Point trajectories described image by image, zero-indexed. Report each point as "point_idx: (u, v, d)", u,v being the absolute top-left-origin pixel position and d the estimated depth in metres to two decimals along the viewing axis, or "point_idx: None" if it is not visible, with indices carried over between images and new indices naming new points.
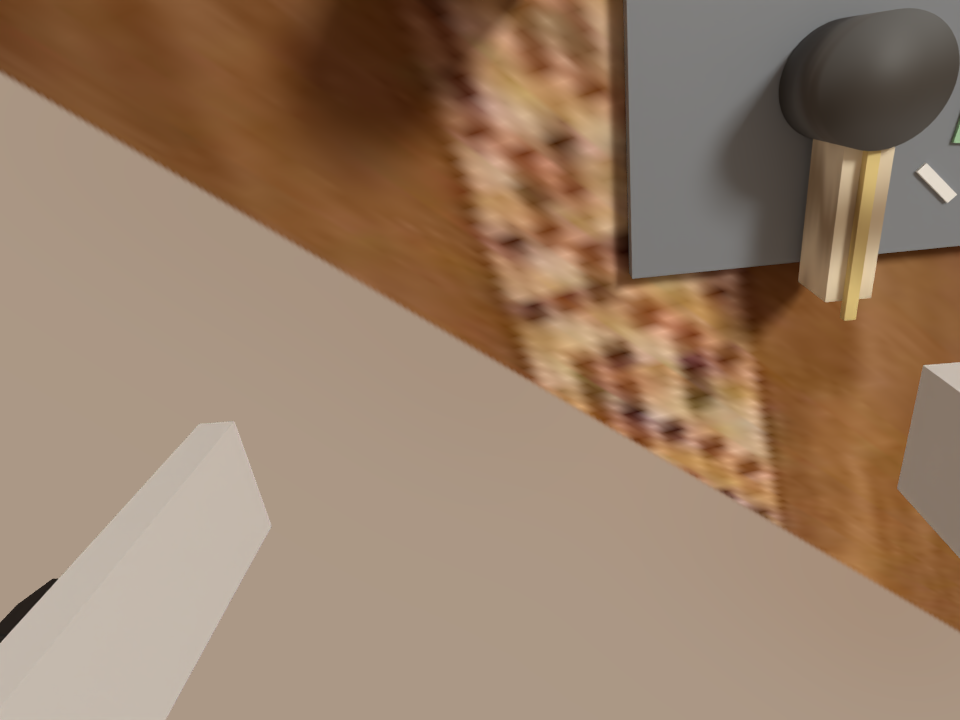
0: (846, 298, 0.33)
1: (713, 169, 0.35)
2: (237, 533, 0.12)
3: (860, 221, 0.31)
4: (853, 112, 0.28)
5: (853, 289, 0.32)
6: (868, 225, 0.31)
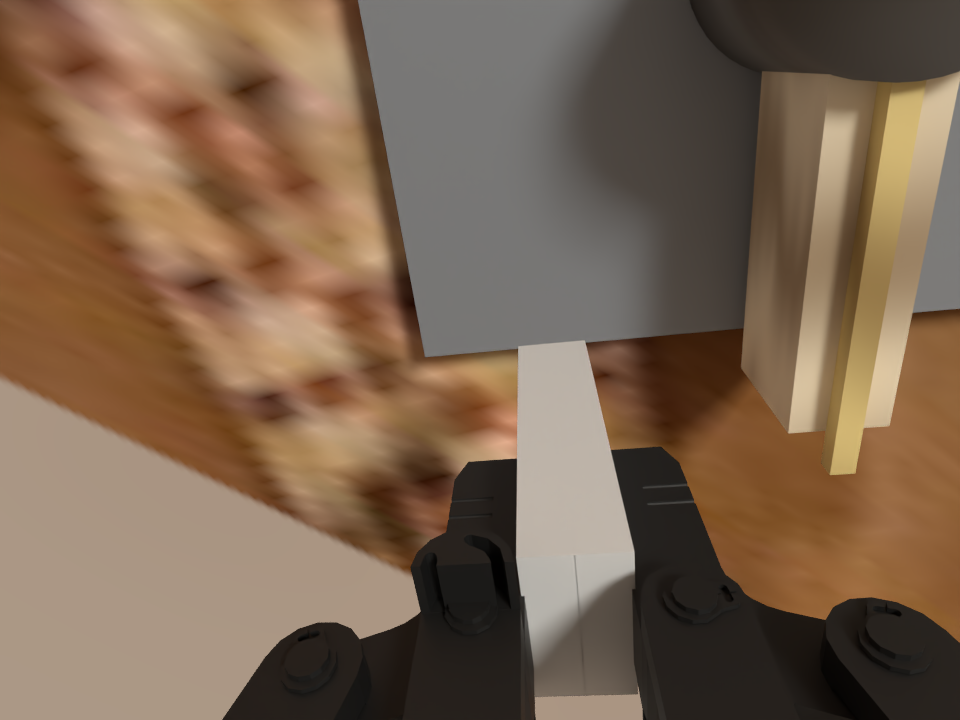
0: (833, 429, 0.15)
1: (557, 142, 0.16)
2: None
3: (869, 264, 0.13)
4: None
5: (850, 413, 0.14)
6: (888, 272, 0.13)
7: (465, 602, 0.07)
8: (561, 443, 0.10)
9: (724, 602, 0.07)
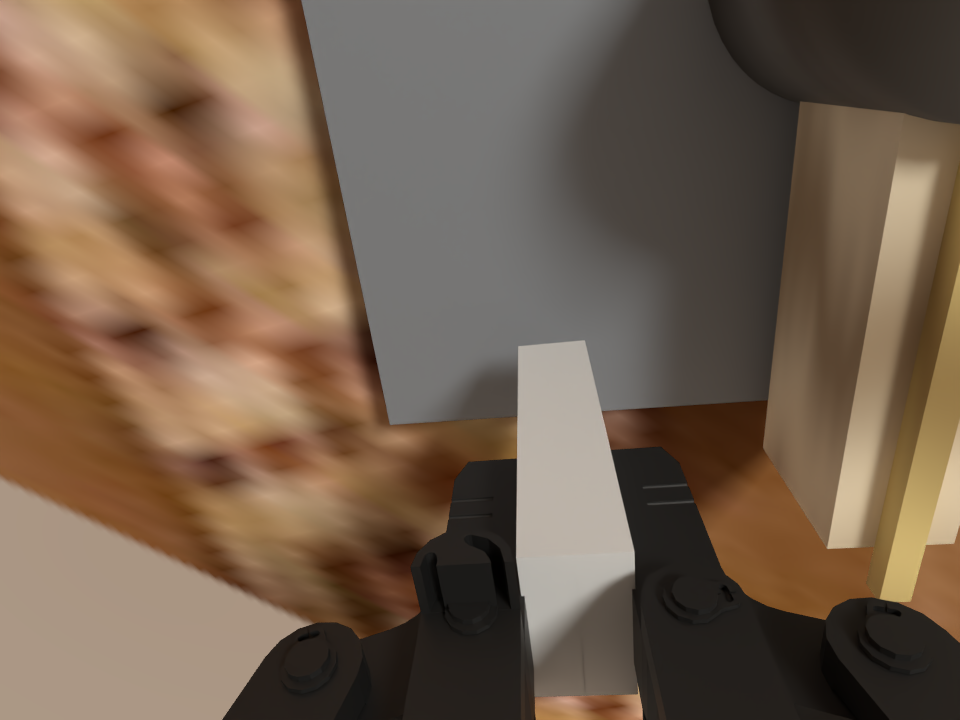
0: (885, 550, 0.12)
1: (546, 180, 0.14)
2: None
3: (946, 357, 0.10)
4: None
5: (909, 533, 0.11)
6: None
7: (465, 602, 0.07)
8: (561, 443, 0.10)
9: (724, 602, 0.07)
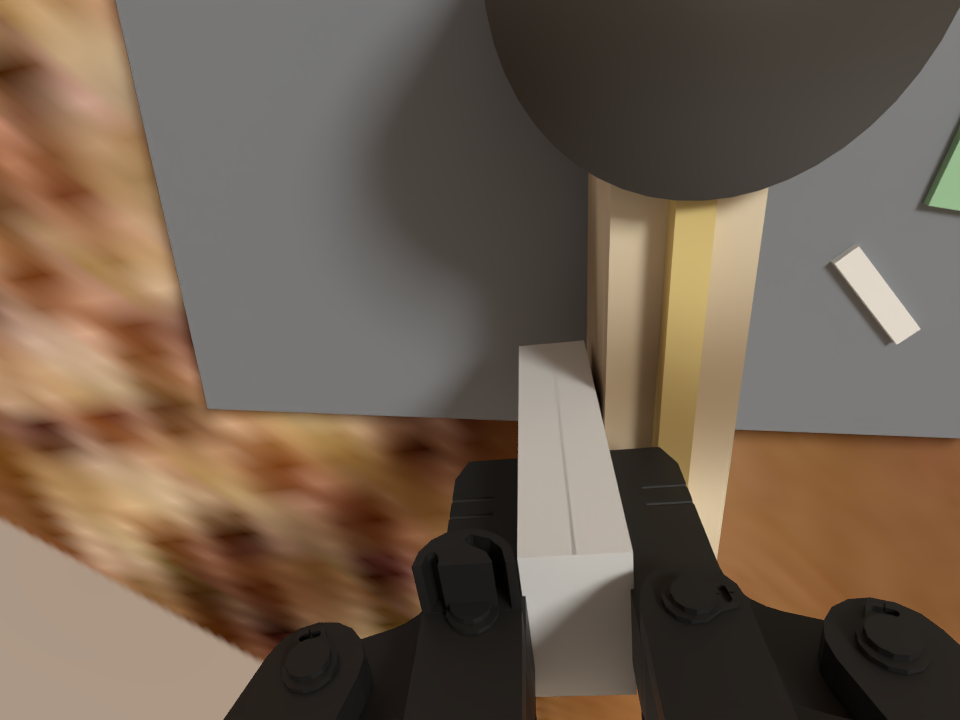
0: None
1: (354, 190, 0.14)
2: None
3: (668, 402, 0.10)
4: (608, 59, 0.08)
5: None
6: (691, 412, 0.10)
7: (466, 602, 0.07)
8: (560, 443, 0.10)
9: (722, 602, 0.07)
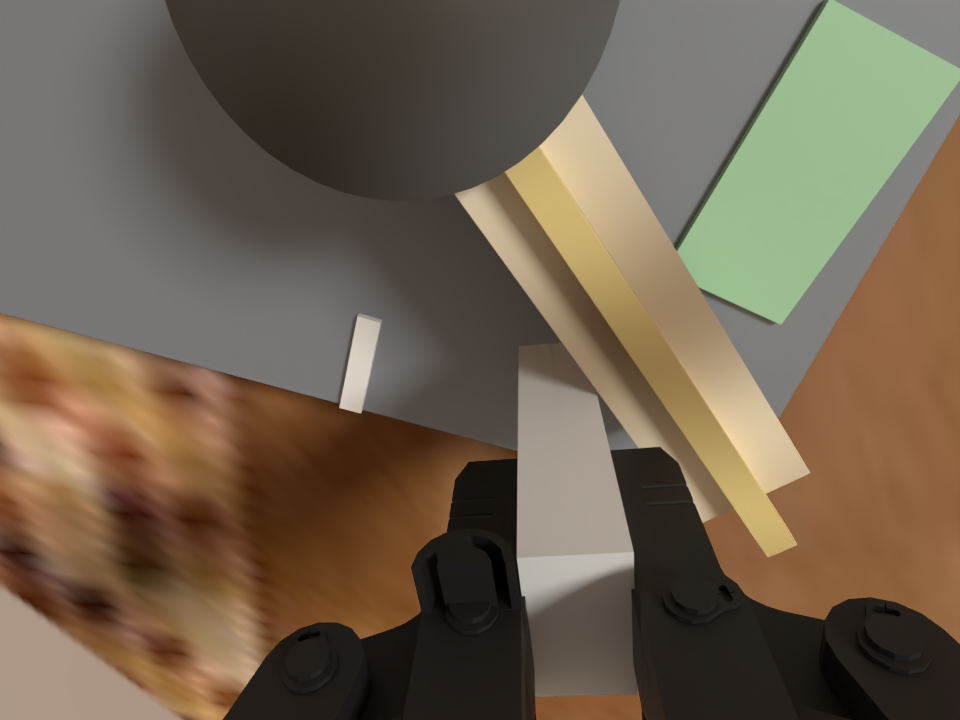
0: (736, 510, 0.11)
1: (126, 108, 0.13)
2: None
3: (631, 344, 0.10)
4: (358, 106, 0.08)
5: (738, 490, 0.11)
6: (661, 341, 0.10)
7: (465, 602, 0.07)
8: (561, 443, 0.10)
9: (723, 602, 0.07)
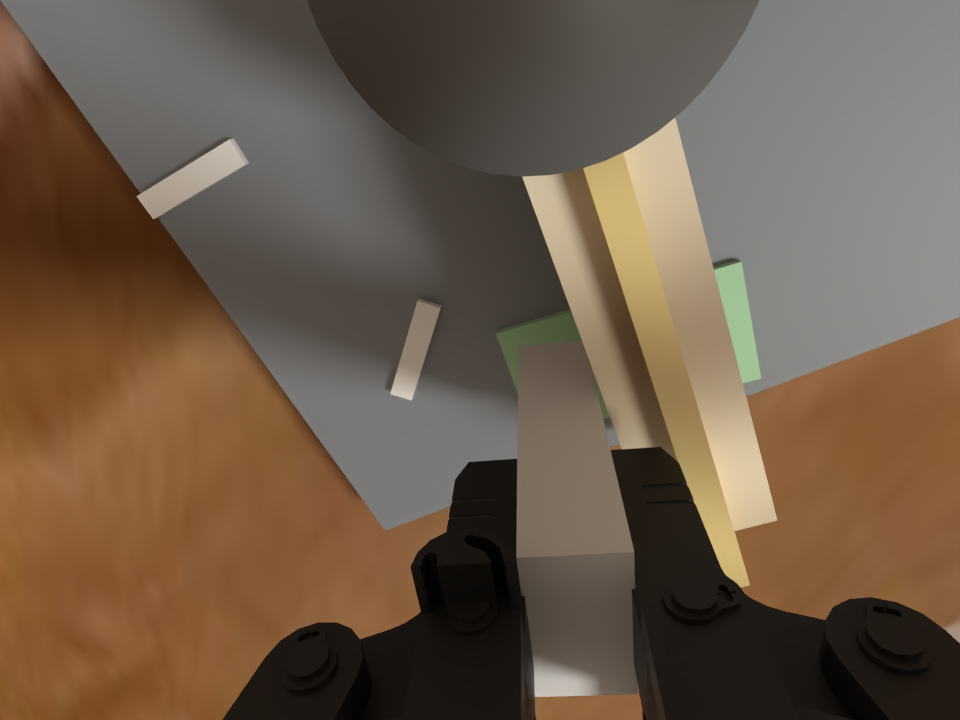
0: None
1: None
2: None
3: (655, 364, 0.10)
4: (461, 62, 0.08)
5: (712, 524, 0.11)
6: (682, 368, 0.10)
7: (465, 602, 0.07)
8: (561, 443, 0.10)
9: (724, 602, 0.07)
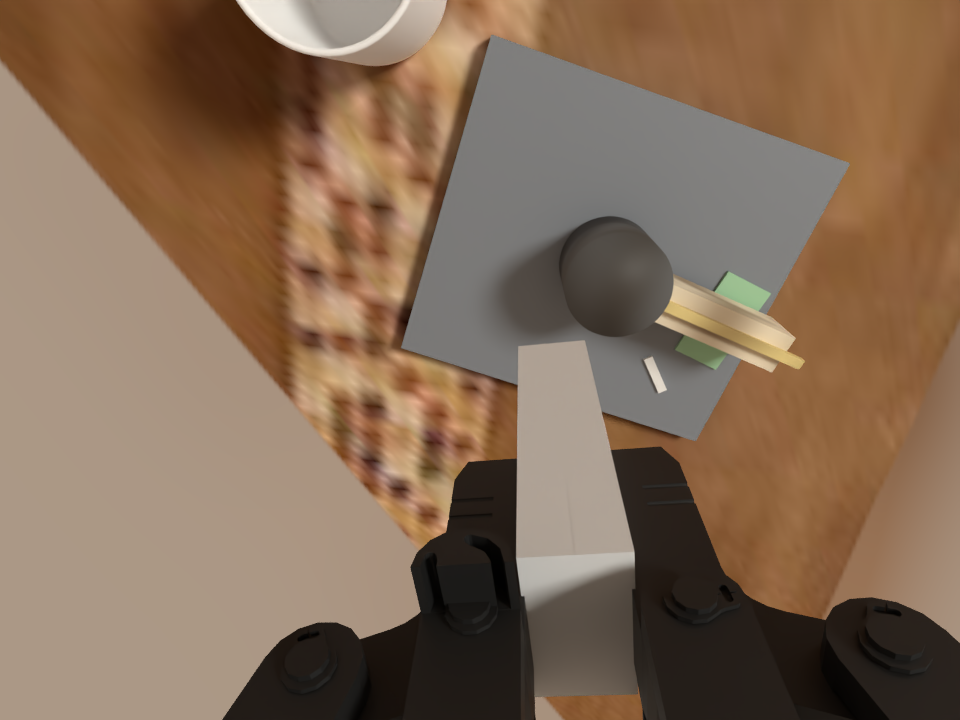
0: (779, 360, 0.35)
1: (493, 288, 0.39)
2: None
3: (717, 332, 0.34)
4: (624, 316, 0.34)
5: (774, 354, 0.35)
6: (725, 327, 0.34)
7: (465, 602, 0.07)
8: (561, 443, 0.10)
9: (724, 602, 0.07)
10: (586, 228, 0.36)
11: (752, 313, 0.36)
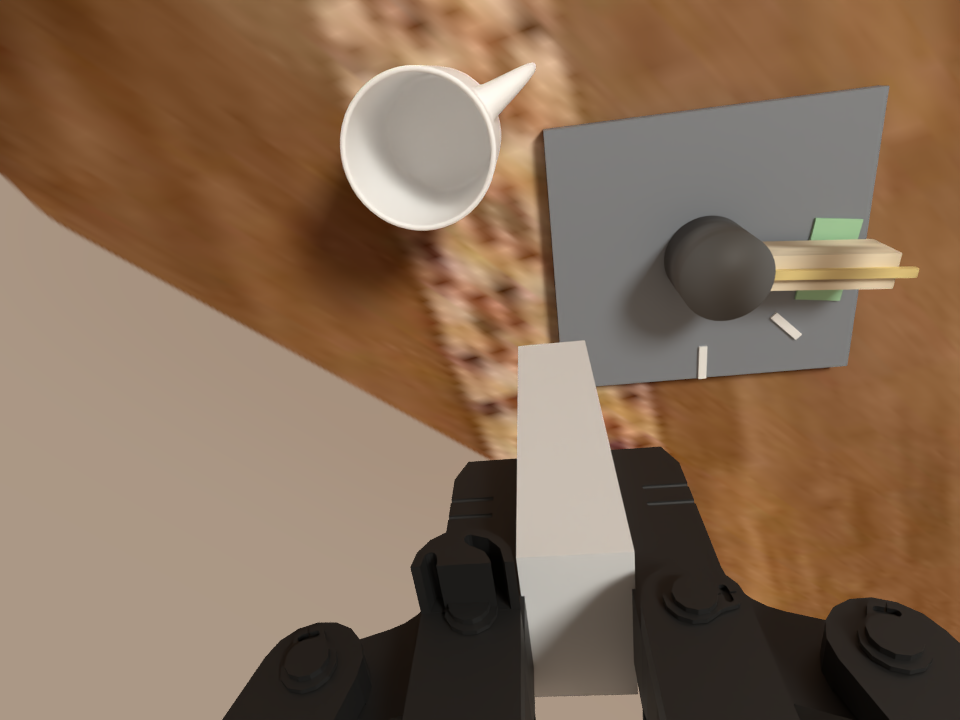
0: (895, 277, 0.39)
1: (620, 314, 0.46)
2: None
3: (828, 277, 0.39)
4: (741, 298, 0.40)
5: (888, 274, 0.39)
6: (833, 271, 0.39)
7: (465, 602, 0.07)
8: (561, 443, 0.10)
9: (724, 602, 0.07)
10: (679, 239, 0.42)
11: (853, 246, 0.40)
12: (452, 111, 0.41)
